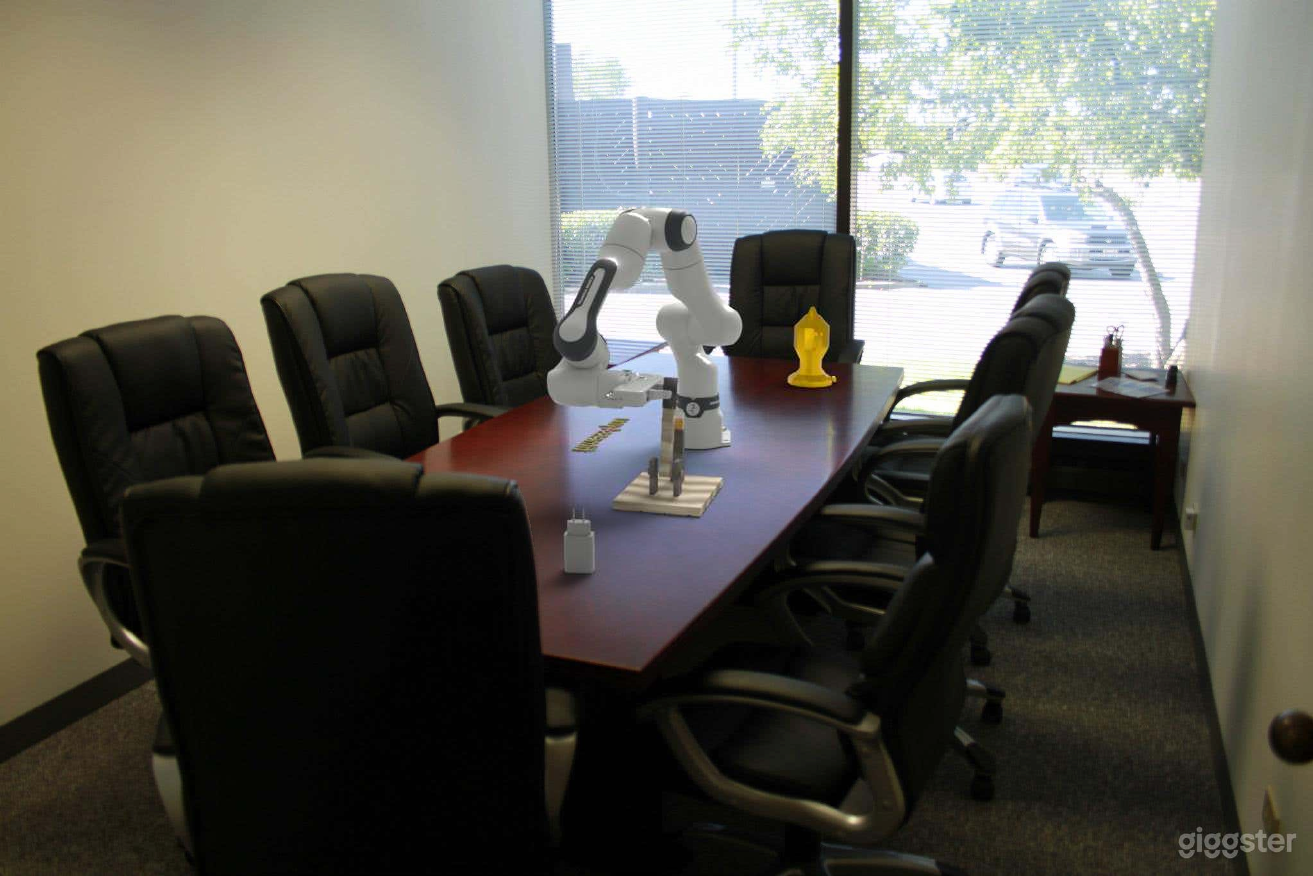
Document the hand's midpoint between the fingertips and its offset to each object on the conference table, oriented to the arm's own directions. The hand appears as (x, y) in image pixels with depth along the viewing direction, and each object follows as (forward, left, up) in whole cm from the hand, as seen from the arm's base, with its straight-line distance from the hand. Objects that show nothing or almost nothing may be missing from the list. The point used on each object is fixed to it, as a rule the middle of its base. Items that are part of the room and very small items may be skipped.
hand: (674, 392), depth 221 cm
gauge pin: (-7, -1, -9) cm, 11 cm away
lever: (+4, -1, -18) cm, 18 cm away
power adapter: (+48, -6, -25) cm, 54 cm away
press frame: (0, -1, -25) cm, 25 cm away
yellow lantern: (-149, +15, -25) cm, 152 cm away
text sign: (-53, -35, -25) cm, 69 cm away
